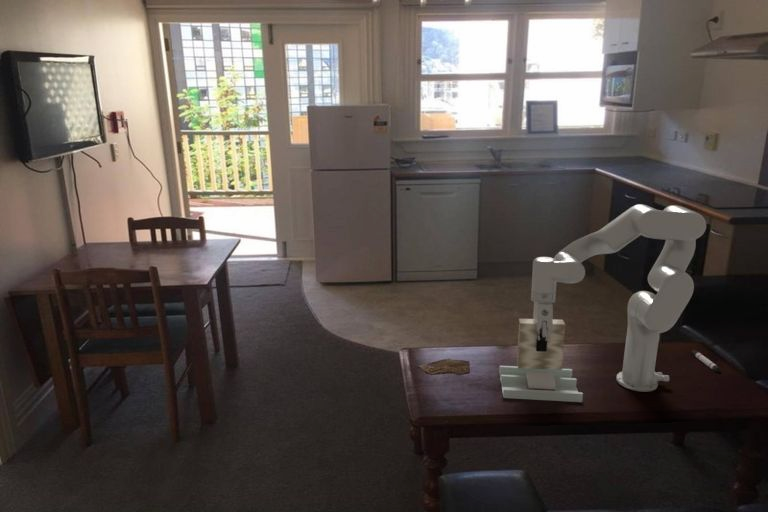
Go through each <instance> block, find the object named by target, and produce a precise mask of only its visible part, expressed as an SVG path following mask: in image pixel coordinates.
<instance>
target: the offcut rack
mask: <svg viewBox="0 0 768 512" xmlns="http://www.w3.org/2000/svg"><path fill="white" fill-rule="evenodd" d="M498 369H499V371H498V373H499V374H498V375H499V379H500V384H501V389H502V390H501V391H502V397H503V398H504V399H515V400H516V399H517V400H518V399H519V400H537V401H550V402H551V401H555V402H556V401H557V402H568V403H569V402H572V403H583V396H584V393H583V392H580V391H578V388H577V383H578V382H577V381H578V379H577V378H575V377H573V368H562V370H552V369H524V368H518V365H517V366H515V365H499V368H498ZM527 372H540V373H553V376H554V379H555V382H556V385H555V391H546V390H528V389H527V387H526V381H527Z"/></svg>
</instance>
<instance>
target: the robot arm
mask: <svg viewBox="0 0 768 512" xmlns="http://www.w3.org/2000/svg"><path fill="white" fill-rule="evenodd" d="M706 230H707V221H706V219H705V217H704V216H703V215H701V213H698V212H696V211H695V210H694V211H693V210H691V209H689V208H687V207H684V206H680V205H675V204H674V205H667V206H666V207H665V208H664V209H663V210H660V209H656V208H654V207H651V206H649V205H647V204H643V203H642V204H641V203H639V204H638V203H637V204H635V205H633V206H631V207H629V208H628V209H627V210H625V211H624V212H622V213H620V215H618V216H617V217H615V218H614V219H613V220H611V221H610V222H609V223H607V224H606V225H605V226H603V227H602V228H600V229H599V230H597V231H594V232H591V233H590V234H587V235H585V236H583V237H582V236H581V237H579V238H578V239H576V240H574V241H572V242H571V243H569V244H568V245H566V246H565V247H564V248H563V249H561V250H559V251H558V252H557V253H556V254H555V255H554V257H550V256H538V257H535V258H534V259H533V261H532V274H531V275H532V276H531V290H530V291H531V293H530V300H531V302H533V315H532V316H533V317H532V319H534V321H535V324H536V331H537V332H538V339H537V344H536V351H541V352H546V351H547V329H548V331H549V332H550V333H552V329H553V318H554V316H553V315H554V309H553V308H554V306H553V304H554V303H555V302H556V295H557V294H556V293H557V283H563V284H577V283H580V282H582V281H583V279H584V278H585V276H586V269H585V266H584V265H583V262H584V261H586V260H587V259H589V258H591V257H594V256H596V255H604V254H605V255H608V254H609V255H610V254H614V253H617V252H619V251H621V250H622V249H623V248H625V247H626V246H627V245H628V244H631V242H633V241H635V240H636V239H637V238H639V237H640V236H641V237H642V236H643V237H645V238H648V239H649V238H650V239H655V240H665V242H664V245H663V248H662V250H661V251H660V254H659V256H658V257H657V259H656V261H654V262H655V263H653V265H652V267H651V269H650V271H649V273H648V275H647V282H648V284H649V286H650V287H651V288H652V289H653V290H654V291H656V292H657V293H656V294H655V293H653V292H651V291H647V290H639V291H637V292H635V293H633V294H632V295H631V296H630V298H629V300H628V303H627V329H626V338H625V346H624V354H623V362H622V371H619V372H618V373H617V374H616V378H615V379H616V382H617V383H618V384H619V385H620V386H622V387H624V388H625V389H628V390H631V391H636V392H641V393H642V392H646V393H647V392H648V393H649V392H653V391H655V390H656V389H658V385H659V383H658V382H660V381H661V382H662V381H663V382H669V381H670V375H667V374H663V372H661V371H658V372H656V371H655V370H656V369H655V368H656V361H657V354H658V347H659V342H660V341H659V340H660V334H662V333H665V332H668V331H669V330H671V329H672V328H673V327H674V326H675V324H676V323H677V321H678V319H679V318H680V316H681V314H682V313H683V311H684V310H685V309H686V307H687V305H688V304H689V302H690V300H691V298H692V296H693V293H694V290H695V284H694V280H693V278H692V277H691V276H690V274H688V272H686V270H687V268H688V266H689V265H690V263H691V261H692V259H693V257H694V255H695V251H696V243H697V241H696V240H697V239H699V238H701V237H702V236H703V235H704V233H705V232H706ZM540 329H542V331H540ZM540 333H542V335H540Z"/></svg>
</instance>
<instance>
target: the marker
mask: <svg viewBox="0 0 768 512" xmlns="http://www.w3.org/2000/svg"><path fill="white" fill-rule="evenodd" d="M691 353H692V355H693V356H694V357H696V359H698V360H699V361H701V362H702V363H703V364H704V365H706V366H707V367H708V368H710V370H713V371H714V372H716V373H717V372H721V367H719V366H718V365H717V364H715V363H714V362H713V361H711V360H710V359H709V358H707V357H706V356H704V355H703V354H702V353H700V352H699V351H698V350H694V349H692V350H691Z"/></svg>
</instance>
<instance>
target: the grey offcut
mask: <svg viewBox="0 0 768 512" xmlns="http://www.w3.org/2000/svg"><path fill="white" fill-rule="evenodd" d="M527 382H528V386H529V388H538V389H555V385H556V382H555V379H554V376H553V373H540V372H527Z"/></svg>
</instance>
